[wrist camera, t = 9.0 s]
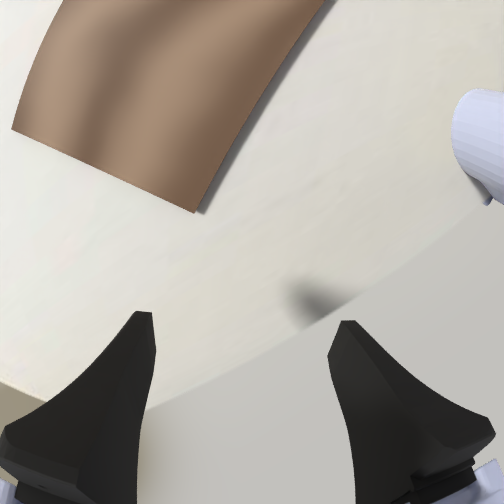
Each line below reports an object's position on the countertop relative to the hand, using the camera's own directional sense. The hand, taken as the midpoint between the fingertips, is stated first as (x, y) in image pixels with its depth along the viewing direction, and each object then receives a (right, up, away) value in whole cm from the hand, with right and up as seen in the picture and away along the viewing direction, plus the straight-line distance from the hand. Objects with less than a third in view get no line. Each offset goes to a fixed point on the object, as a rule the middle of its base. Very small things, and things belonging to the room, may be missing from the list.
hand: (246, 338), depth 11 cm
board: (-5, +16, +2) cm, 16 cm away
